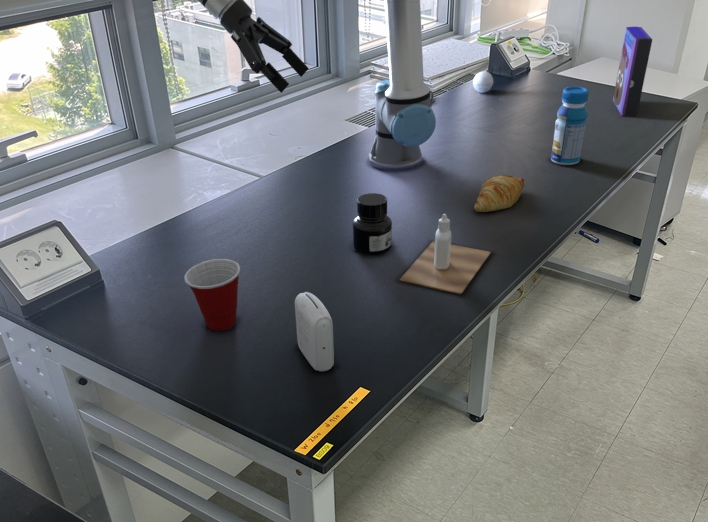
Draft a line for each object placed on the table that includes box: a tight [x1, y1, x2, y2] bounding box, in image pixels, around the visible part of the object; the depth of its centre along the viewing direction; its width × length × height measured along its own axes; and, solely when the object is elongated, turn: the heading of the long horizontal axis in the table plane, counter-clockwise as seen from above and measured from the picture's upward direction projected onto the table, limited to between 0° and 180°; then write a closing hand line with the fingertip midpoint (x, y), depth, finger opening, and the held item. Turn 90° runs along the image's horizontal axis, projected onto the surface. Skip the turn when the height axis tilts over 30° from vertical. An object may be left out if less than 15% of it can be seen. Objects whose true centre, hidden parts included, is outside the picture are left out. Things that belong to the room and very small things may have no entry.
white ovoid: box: [472, 70, 494, 94], centre depth 263 cm, size 10×7×7 cm
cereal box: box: [612, 26, 653, 118], centre depth 238 cm, size 17×5×24 cm, turn 172°
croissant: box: [474, 174, 525, 213], centre depth 186 cm, size 21×10×8 cm, turn 139°
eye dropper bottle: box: [434, 213, 452, 270], centre depth 157 cm, size 4×6×12 cm
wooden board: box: [398, 240, 492, 296], centre depth 160 cm, size 20×14×1 cm
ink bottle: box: [352, 192, 393, 256], centre depth 166 cm, size 10×9×12 cm
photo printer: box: [294, 291, 335, 372], centre depth 131 cm, size 10×4×12 cm, turn 24°
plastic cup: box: [183, 258, 241, 332], centre depth 141 cm, size 11×11×12 cm
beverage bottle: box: [550, 86, 590, 166], centre depth 203 cm, size 8×8×20 cm
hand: (295, 80), depth 171 cm, fingers open, 13 cm apart
